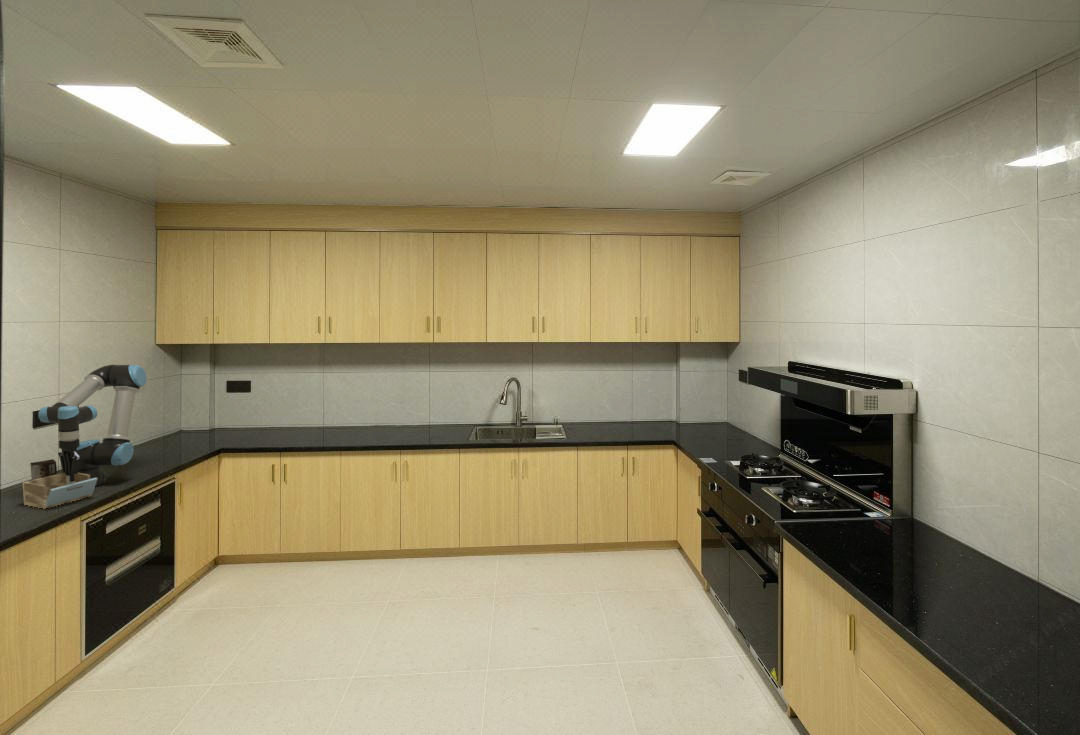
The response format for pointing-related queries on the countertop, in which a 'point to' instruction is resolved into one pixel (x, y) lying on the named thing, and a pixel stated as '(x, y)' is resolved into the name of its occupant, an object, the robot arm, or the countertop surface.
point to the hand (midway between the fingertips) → (70, 488)
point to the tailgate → (71, 491)
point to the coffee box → (43, 469)
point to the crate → (47, 489)
